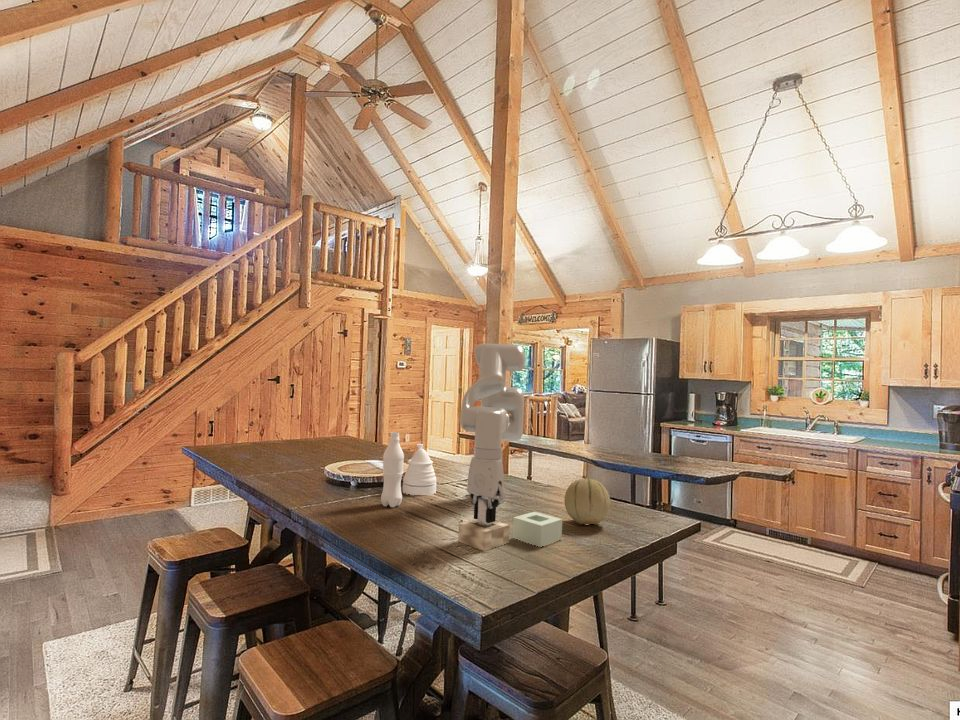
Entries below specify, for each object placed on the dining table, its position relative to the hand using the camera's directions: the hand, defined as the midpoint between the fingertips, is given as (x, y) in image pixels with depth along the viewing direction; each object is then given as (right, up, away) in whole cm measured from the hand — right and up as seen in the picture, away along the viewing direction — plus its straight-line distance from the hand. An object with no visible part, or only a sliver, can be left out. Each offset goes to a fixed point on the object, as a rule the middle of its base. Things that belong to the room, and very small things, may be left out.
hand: (484, 519), depth 143 cm
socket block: (0, -6, 0) cm, 6 cm away
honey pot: (-25, -7, +56) cm, 61 cm away
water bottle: (-32, -6, +34) cm, 47 cm away
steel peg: (0, -6, 0) cm, 6 cm away
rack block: (+15, -7, +5) cm, 17 cm away
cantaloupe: (+33, -9, +22) cm, 41 cm away
